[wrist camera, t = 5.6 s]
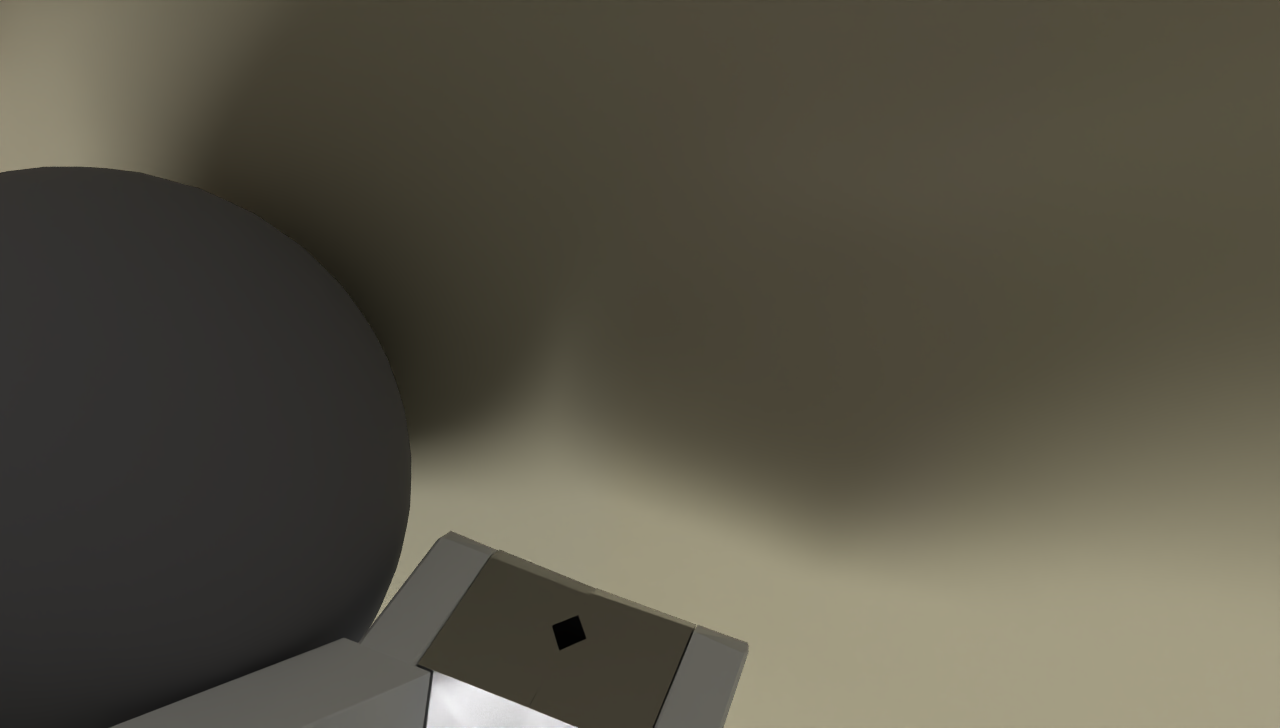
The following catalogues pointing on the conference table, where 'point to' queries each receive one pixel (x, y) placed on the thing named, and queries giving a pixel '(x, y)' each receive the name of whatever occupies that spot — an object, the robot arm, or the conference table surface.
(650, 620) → the robot arm
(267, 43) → the conference table surface
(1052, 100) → the conference table surface
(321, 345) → the dark gray ball
